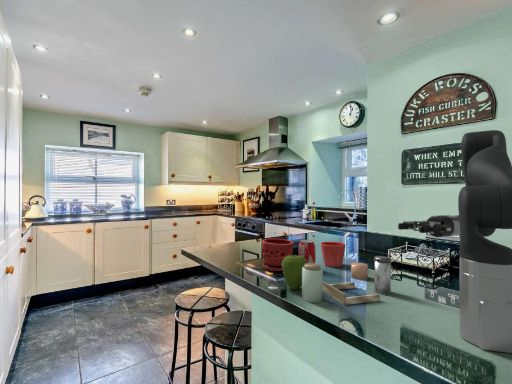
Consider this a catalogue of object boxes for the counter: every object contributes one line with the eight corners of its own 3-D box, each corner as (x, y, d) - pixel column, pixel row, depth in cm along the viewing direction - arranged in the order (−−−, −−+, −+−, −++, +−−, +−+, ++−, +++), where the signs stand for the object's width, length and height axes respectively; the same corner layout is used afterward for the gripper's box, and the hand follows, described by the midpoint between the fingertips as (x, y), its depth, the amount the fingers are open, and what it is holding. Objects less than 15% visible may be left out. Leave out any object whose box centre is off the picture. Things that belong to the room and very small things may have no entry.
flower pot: (315, 263, 125) (315, 242, 125) (334, 261, 130) (334, 240, 130) (331, 269, 115) (331, 246, 115) (350, 266, 120) (350, 244, 120)
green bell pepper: (313, 289, 90) (313, 254, 90) (296, 295, 84) (297, 257, 84) (292, 282, 96) (292, 250, 96) (276, 288, 90) (276, 253, 90)
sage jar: (322, 303, 78) (322, 268, 78) (301, 301, 79) (301, 266, 79) (322, 296, 84) (322, 263, 84) (302, 294, 85) (302, 262, 85)
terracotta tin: (369, 280, 100) (369, 266, 100) (352, 279, 102) (352, 265, 102) (366, 276, 106) (366, 263, 106) (350, 274, 107) (350, 262, 108)
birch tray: (353, 287, 92) (353, 278, 92) (379, 300, 80) (379, 290, 80) (321, 290, 88) (321, 281, 89) (344, 305, 77) (344, 294, 77)
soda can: (315, 272, 110) (315, 242, 110) (297, 271, 111) (298, 241, 112) (315, 267, 117) (315, 239, 117) (298, 266, 118) (298, 239, 119)
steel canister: (392, 295, 85) (393, 259, 85) (375, 293, 86) (375, 258, 86) (388, 290, 90) (389, 256, 90) (372, 288, 91) (372, 255, 91)
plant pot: (261, 273, 108) (261, 242, 108) (262, 265, 121) (262, 237, 121) (294, 274, 107) (294, 243, 107) (291, 265, 120) (292, 238, 120)
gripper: (426, 213, 103) (392, 215, 98) (465, 217, 90) (428, 218, 85) (426, 233, 103) (392, 235, 98) (465, 239, 90) (428, 242, 85)
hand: (409, 228), depth 92 cm, fingers open, 8 cm apart
